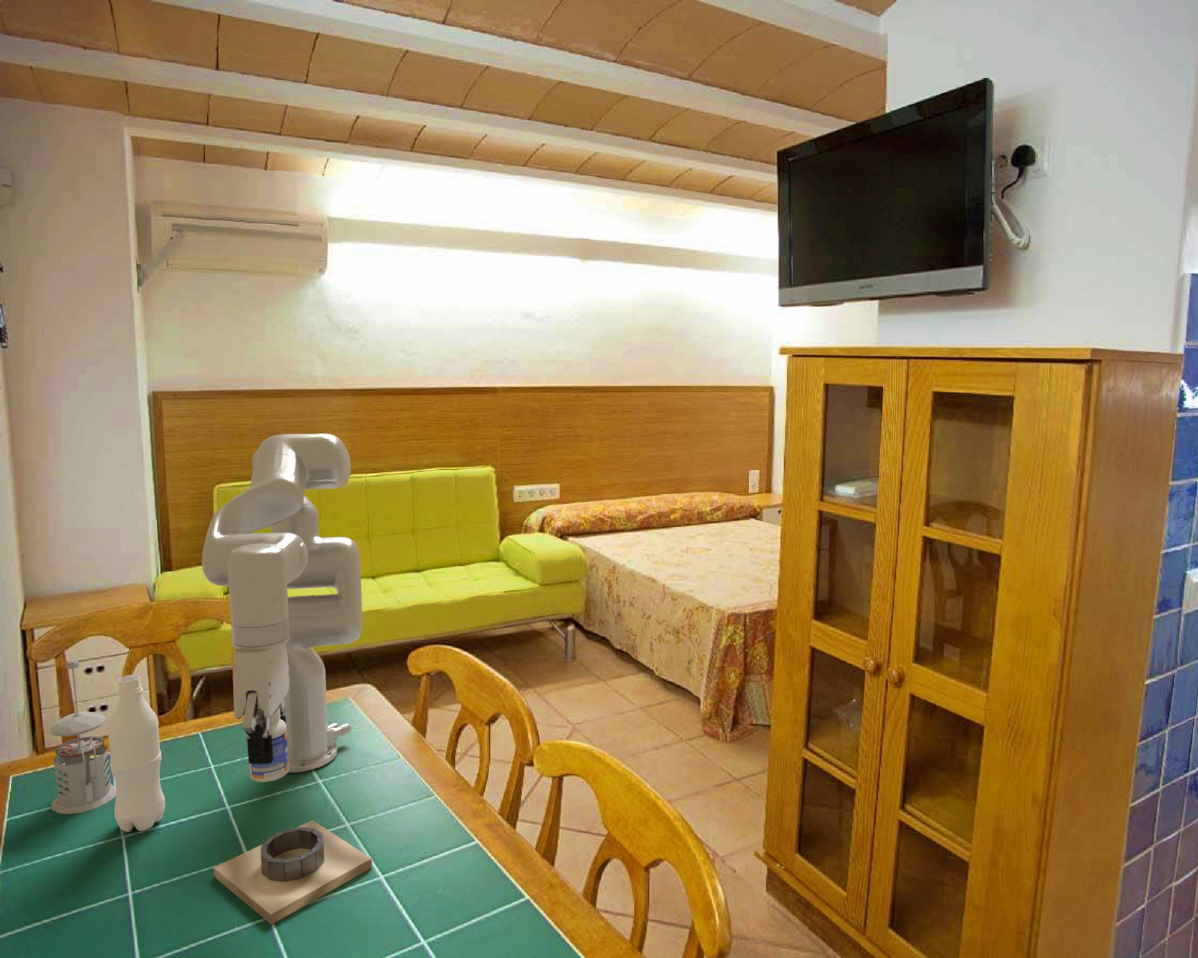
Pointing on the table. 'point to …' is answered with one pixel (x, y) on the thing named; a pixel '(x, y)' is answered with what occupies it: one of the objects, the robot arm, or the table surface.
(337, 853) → the stand plate
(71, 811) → the french press
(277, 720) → the pill bottle
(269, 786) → the table surface
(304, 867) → the collar
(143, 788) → the water bottle
